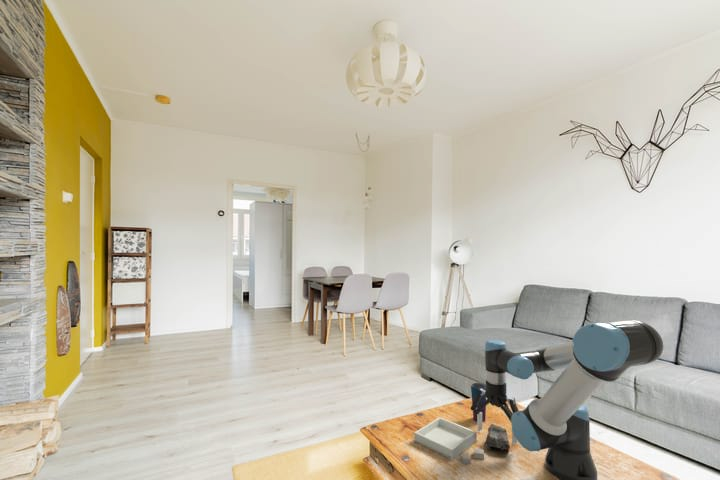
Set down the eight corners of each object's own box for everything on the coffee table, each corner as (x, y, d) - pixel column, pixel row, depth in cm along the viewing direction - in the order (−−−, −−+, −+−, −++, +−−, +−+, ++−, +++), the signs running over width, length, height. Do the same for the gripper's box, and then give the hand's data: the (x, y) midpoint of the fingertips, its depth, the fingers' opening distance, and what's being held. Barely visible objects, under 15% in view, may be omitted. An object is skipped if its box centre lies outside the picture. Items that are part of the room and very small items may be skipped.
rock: (511, 457, 124) (510, 438, 125) (485, 453, 127) (485, 435, 127) (506, 438, 137) (505, 421, 138) (483, 435, 140) (483, 419, 140)
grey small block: (483, 455, 126) (483, 449, 126) (484, 459, 124) (484, 454, 124) (473, 453, 127) (473, 448, 127) (473, 458, 125) (473, 452, 125)
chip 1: (470, 464, 121) (470, 458, 121) (463, 464, 121) (463, 459, 121) (467, 458, 124) (467, 453, 124) (460, 458, 124) (460, 453, 124)
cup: (471, 422, 151) (470, 387, 151) (471, 415, 157) (470, 381, 158) (488, 424, 149) (487, 389, 149) (487, 416, 155) (486, 383, 156)
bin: (476, 440, 136) (476, 431, 136) (452, 460, 123) (452, 450, 123) (439, 425, 148) (439, 417, 148) (414, 441, 135) (414, 432, 136)
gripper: (533, 387, 126) (534, 446, 126) (470, 370, 144) (471, 421, 144) (525, 393, 121) (526, 454, 120) (461, 375, 139) (462, 427, 138)
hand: (496, 436), depth 132 cm, fingers open, 13 cm apart
